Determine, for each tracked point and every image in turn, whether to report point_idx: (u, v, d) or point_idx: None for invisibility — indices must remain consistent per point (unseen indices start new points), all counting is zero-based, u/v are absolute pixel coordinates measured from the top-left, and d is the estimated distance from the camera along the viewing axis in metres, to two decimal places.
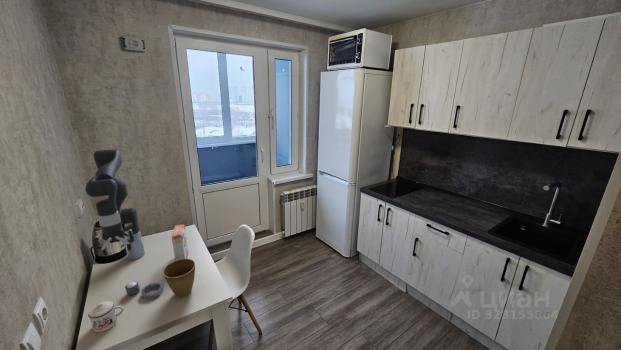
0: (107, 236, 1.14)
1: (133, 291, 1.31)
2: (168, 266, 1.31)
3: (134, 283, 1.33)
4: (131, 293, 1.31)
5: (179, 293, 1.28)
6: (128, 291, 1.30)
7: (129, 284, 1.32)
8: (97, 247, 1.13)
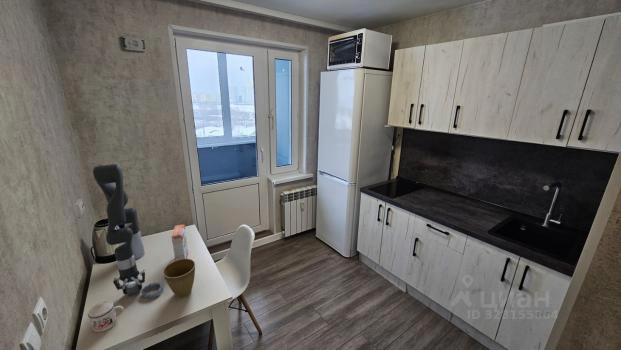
0: (124, 277, 1.28)
1: (133, 291, 1.31)
2: (168, 266, 1.31)
3: (134, 283, 1.33)
4: (131, 293, 1.31)
5: (179, 293, 1.28)
6: (128, 291, 1.30)
7: (129, 284, 1.32)
8: (118, 287, 1.28)
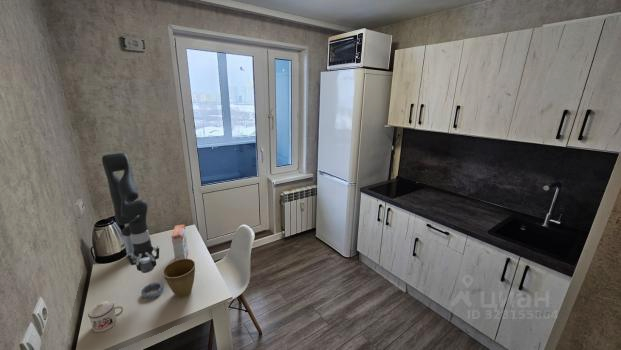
0: (138, 252, 1.24)
1: (147, 267, 1.26)
2: (168, 266, 1.31)
3: (148, 259, 1.28)
4: (145, 269, 1.26)
5: (179, 293, 1.28)
6: (142, 267, 1.26)
7: (143, 260, 1.28)
8: (132, 263, 1.24)
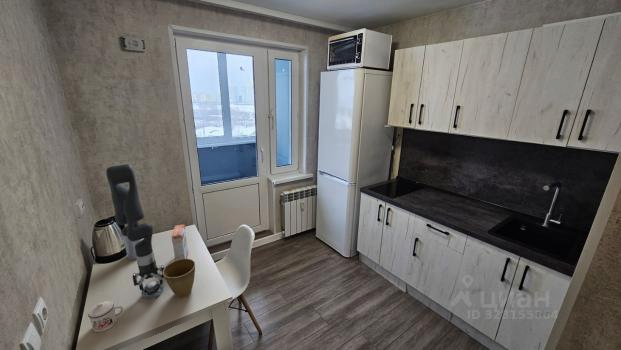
0: (143, 273, 1.28)
1: (153, 291, 1.31)
2: (168, 266, 1.31)
3: (154, 283, 1.33)
4: None
5: (179, 293, 1.28)
6: (148, 291, 1.30)
7: (149, 284, 1.32)
8: (135, 283, 1.27)
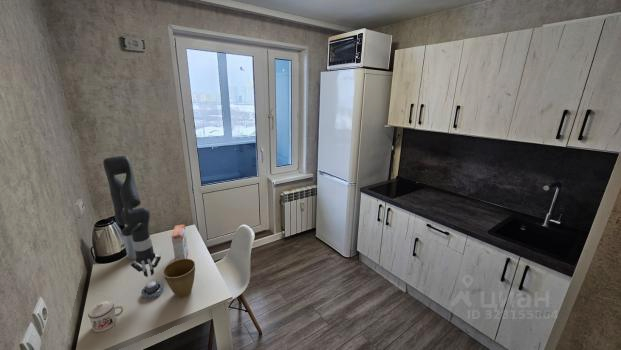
0: (140, 259, 1.25)
1: (153, 291, 1.31)
2: (168, 266, 1.31)
3: (154, 283, 1.33)
4: None
5: (179, 293, 1.28)
6: (148, 291, 1.30)
7: (149, 284, 1.32)
8: (139, 269, 1.26)
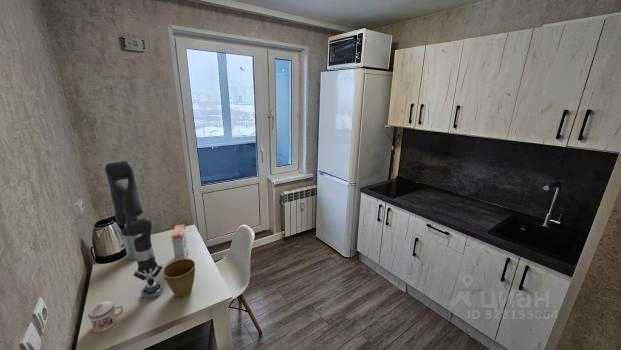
0: (142, 269, 1.27)
1: (153, 291, 1.31)
2: (168, 266, 1.31)
3: (154, 283, 1.33)
4: None
5: (179, 293, 1.28)
6: (149, 291, 1.30)
7: None
8: (143, 278, 1.28)
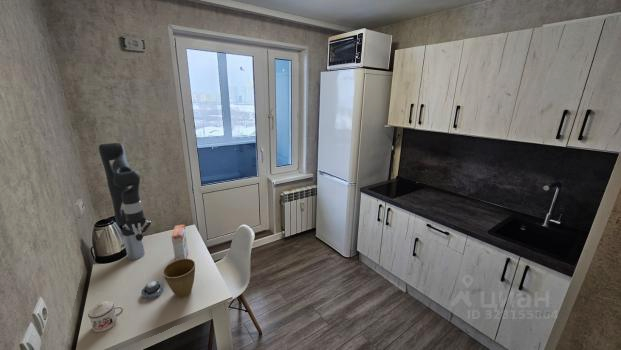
0: (130, 223, 1.27)
1: (153, 291, 1.31)
2: (168, 266, 1.31)
3: (154, 283, 1.33)
4: (152, 292, 1.31)
5: (179, 293, 1.28)
6: (149, 291, 1.30)
7: (149, 284, 1.32)
8: (131, 232, 1.28)
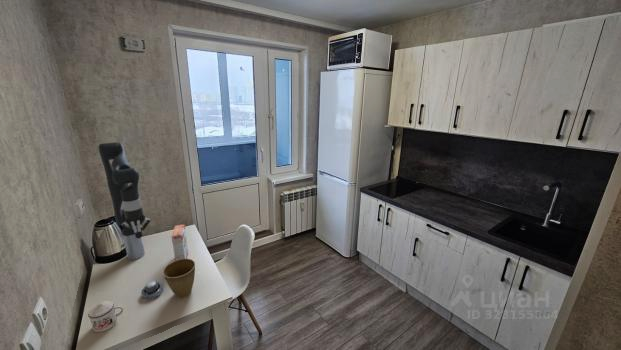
0: (130, 220, 1.27)
1: (153, 290, 1.31)
2: (168, 266, 1.31)
3: (153, 283, 1.33)
4: (152, 292, 1.31)
5: (179, 293, 1.28)
6: (149, 291, 1.30)
7: (149, 284, 1.32)
8: (131, 230, 1.28)
